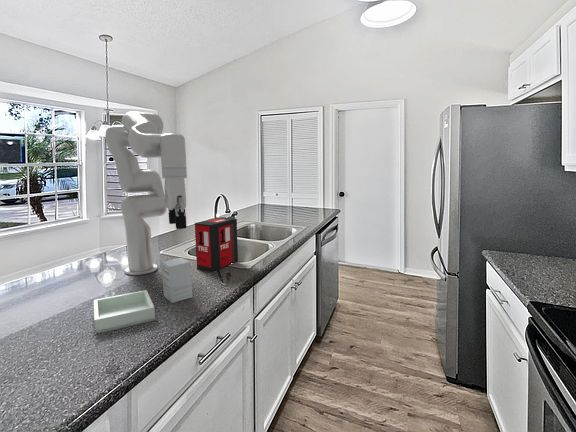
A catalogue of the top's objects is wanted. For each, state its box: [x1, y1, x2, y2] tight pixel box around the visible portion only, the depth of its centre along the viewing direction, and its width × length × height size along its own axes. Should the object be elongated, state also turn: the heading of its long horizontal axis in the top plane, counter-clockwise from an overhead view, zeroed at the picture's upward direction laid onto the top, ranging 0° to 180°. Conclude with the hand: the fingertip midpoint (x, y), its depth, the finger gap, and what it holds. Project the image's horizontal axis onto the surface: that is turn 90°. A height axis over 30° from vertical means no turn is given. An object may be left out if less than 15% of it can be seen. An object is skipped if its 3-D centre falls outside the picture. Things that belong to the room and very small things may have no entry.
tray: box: [93, 289, 156, 334], centre depth 99 cm, size 15×15×4 cm
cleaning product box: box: [194, 216, 239, 273], centre depth 145 cm, size 16×9×20 cm, turn 150°
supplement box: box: [161, 257, 193, 304], centre depth 112 cm, size 7×7×13 cm
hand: (177, 225), depth 110 cm, fingers open, 9 cm apart
